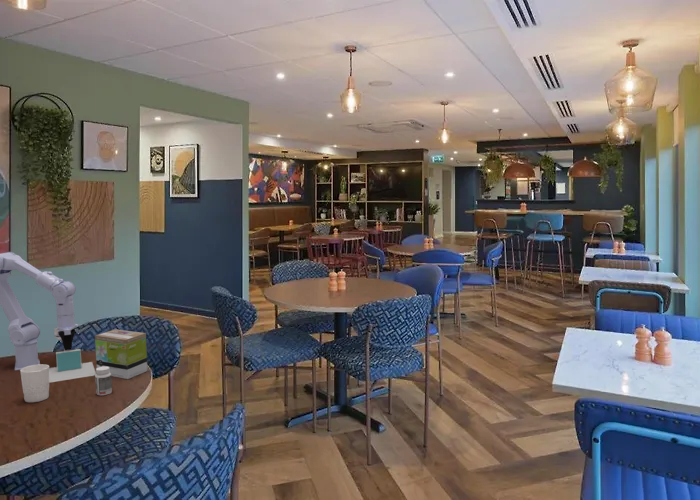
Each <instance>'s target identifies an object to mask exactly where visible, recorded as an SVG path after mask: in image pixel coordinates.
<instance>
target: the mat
mask: <svg viewBox="0 0 700 500" xmlns="http://www.w3.org/2000/svg"><path fill="white" fill-rule="evenodd" d="M81 365H82V368H79V369H73V370H66V371H60V372H57V366H56V367H55V366H53V367H49V384H50V383H55V382H56V383H57V382H62V381H67V380H73V379H74V380H75V379H80V378H88V377H95V375H96V368H95V366H94V364H93V361H89V362H81Z"/></svg>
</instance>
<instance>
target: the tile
mask: <svg viewBox="0 0 700 500" xmlns="http://www.w3.org/2000/svg"><path fill="white" fill-rule="evenodd" d="M55 355H56V356H55V358H56V367H57V372H60V371H66V370H73V369H79V368H82V365H81V363H82V353H81V349H80V348H78V349H71V350H66V351H64V350H63V351H56V352H55Z"/></svg>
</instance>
